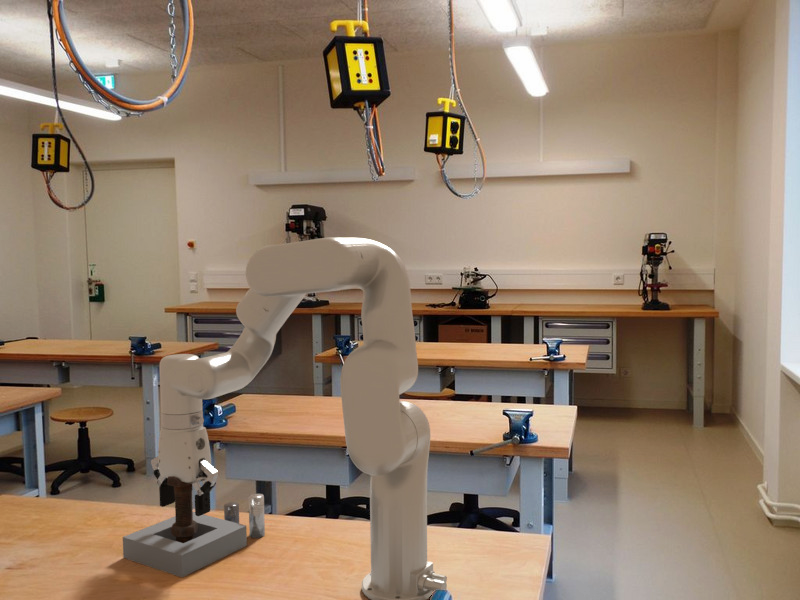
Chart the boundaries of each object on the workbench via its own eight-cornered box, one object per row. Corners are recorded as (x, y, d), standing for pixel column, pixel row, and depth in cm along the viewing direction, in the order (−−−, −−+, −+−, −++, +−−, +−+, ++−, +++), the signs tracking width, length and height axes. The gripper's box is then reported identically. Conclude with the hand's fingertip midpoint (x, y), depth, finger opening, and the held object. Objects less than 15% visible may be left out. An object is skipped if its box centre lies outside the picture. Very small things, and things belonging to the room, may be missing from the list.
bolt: (164, 553, 138) (161, 475, 137) (183, 543, 142) (181, 468, 141) (187, 559, 135) (184, 480, 134) (206, 549, 139) (203, 472, 138)
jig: (246, 545, 141) (246, 525, 140) (182, 577, 127) (181, 555, 127) (189, 529, 149) (189, 510, 149) (123, 557, 136) (122, 536, 136)
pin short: (242, 527, 150) (242, 503, 150) (232, 532, 148) (231, 508, 147) (232, 524, 152) (231, 501, 152) (221, 529, 149) (220, 505, 149)
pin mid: (267, 534, 147) (267, 495, 146) (257, 539, 144) (256, 499, 143) (256, 531, 148) (255, 492, 148) (246, 536, 146) (245, 497, 145)
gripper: (229, 421, 135) (232, 511, 136) (167, 411, 144) (169, 495, 145) (199, 430, 129) (201, 524, 130) (135, 419, 138) (138, 507, 139)
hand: (184, 509), depth 138 cm, fingers open, 9 cm apart
